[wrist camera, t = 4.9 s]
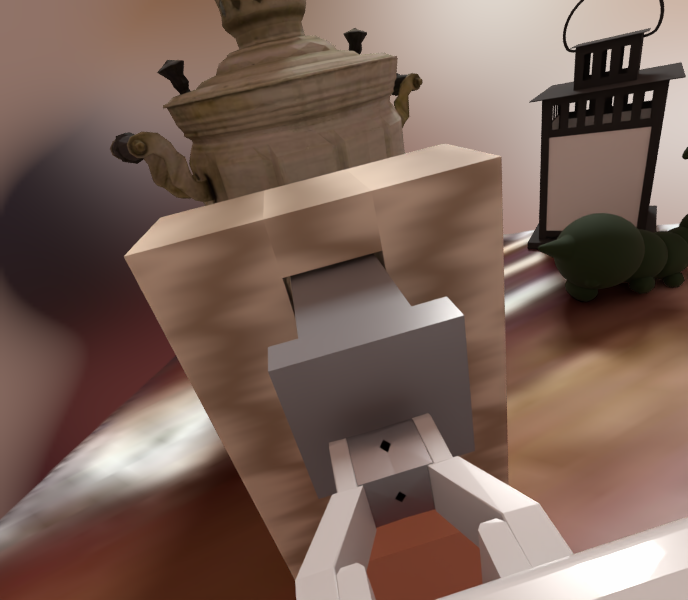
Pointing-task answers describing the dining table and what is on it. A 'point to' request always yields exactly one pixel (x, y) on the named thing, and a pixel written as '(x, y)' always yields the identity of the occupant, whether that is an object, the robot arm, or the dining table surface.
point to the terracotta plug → (422, 559)
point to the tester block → (278, 308)
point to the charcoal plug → (368, 363)
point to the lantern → (602, 137)
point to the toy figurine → (618, 254)
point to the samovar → (275, 109)
